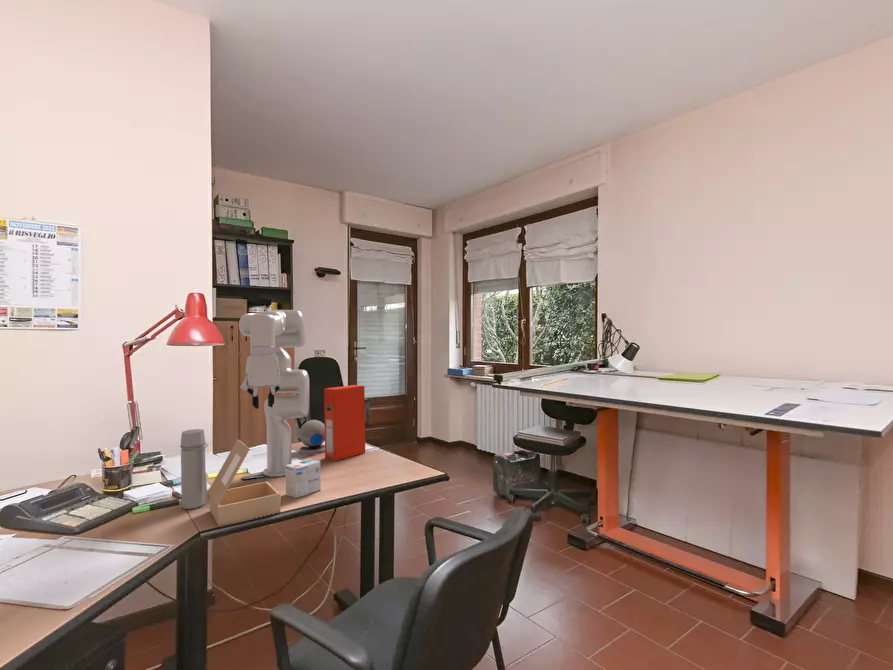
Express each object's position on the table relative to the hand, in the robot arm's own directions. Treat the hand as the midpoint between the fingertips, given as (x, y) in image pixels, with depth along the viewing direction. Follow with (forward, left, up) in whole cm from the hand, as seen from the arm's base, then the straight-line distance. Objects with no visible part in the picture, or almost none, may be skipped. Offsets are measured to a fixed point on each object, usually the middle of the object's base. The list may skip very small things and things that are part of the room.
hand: (263, 406), depth 149 cm
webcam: (-59, +38, -34) cm, 78 cm away
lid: (0, -11, -19) cm, 22 cm away
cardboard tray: (0, -6, -33) cm, 34 cm away
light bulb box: (-6, +15, -34) cm, 37 cm away
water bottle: (-15, -18, -33) cm, 41 cm away
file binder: (-42, +47, -33) cm, 71 cm away
